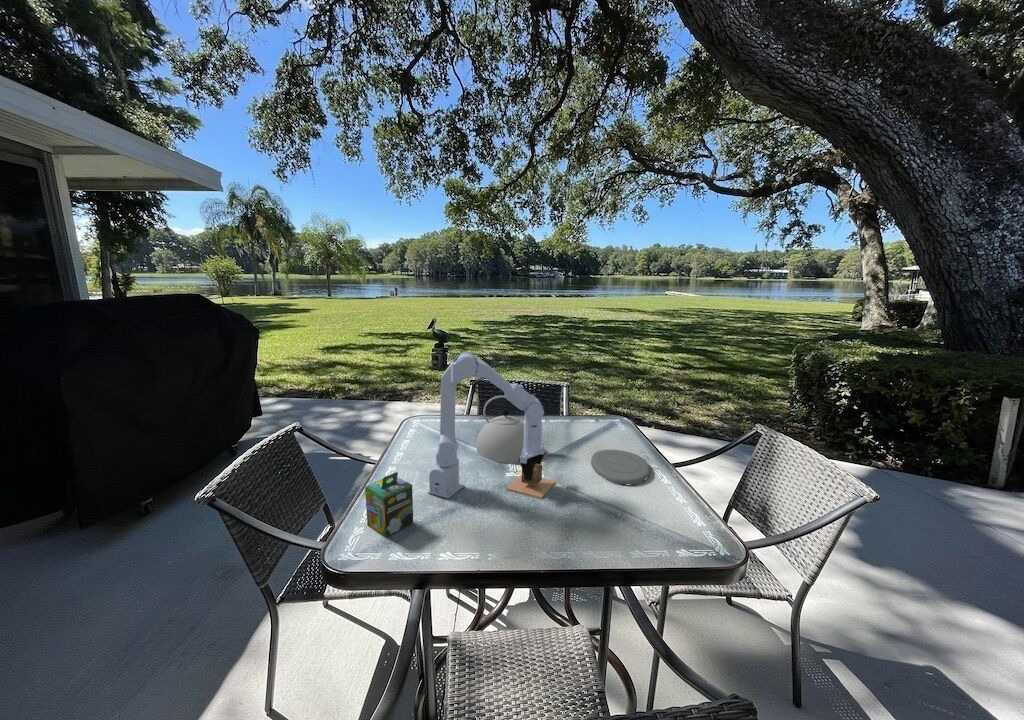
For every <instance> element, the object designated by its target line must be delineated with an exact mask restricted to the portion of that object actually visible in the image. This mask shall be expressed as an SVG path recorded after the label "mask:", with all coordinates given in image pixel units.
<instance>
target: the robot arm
mask: <svg viewBox="0 0 1024 720" xmlns="http://www.w3.org/2000/svg"><path fill="white" fill-rule="evenodd" d="M473 376H475V378H485V379H486V380H487V381H488V382H490V383H491V384H493V385H494V386H496V387H497V388H498V389H500V390H501V391H503V393H504V395H503V396H505V398H504V399H506V400H507V401H508V402H510V403H511V404H512V405H514V407H516V408H517V409H518V410H520V411H523V412H524V420H523V423H524V444H523V450H522V455H521V456H520V458H519V460H518V461H519V462H518V463H519V465H520V466H521V471H522V470H523V473H524V478H525V480H529V481H531V480H532V476H533V470H534V466H535V464H541V465H542V462H543V459H544V457H545V455H546V451H545V450H544V447H545V446H544V442H543V441H542V440H543V439H542V435H543V422H542V421H543V416H544V414H545V410H544V406H543V405H542V403H541V401H540V400H539V399H538V398H537V397H536V395H534V394H531V393H530V392H528V391H527V390H525V389H524V385H522V384H518V383H510V382H509V381H508V380H506V379H505V378H504V377H503V376H502V375H501V374H499V373H498V372H497V371H496V370H495V369H494V368H492V366H490V365H489V363H486V362H485V361H484V360H482V359H481V357H476V356H475V354H474V353H471V352H470V351H464V352H461V353H459V354H458V355H457V356H455V357H454V358H453V360H452V361H451V362H450V365H448V367H447V368H446V369H445V371H444V373H443V374H442V375H441V377H440V409H439V410H440V417H439V418H440V419H439V422H440V423H439V442H438V446H437V451H436V454H435V465H434V467H433V469H431V471H430V472H429V475H428V477H429V479H428V480H429V489H428V490H427V493H428V494H430V495H433V496H437V497H442V498H445V499H449V498H451V497H452V496H454V495H455V494H456V493H457V492H459V491H460V490H462V488H464V487H465V484H464V483H460V460H459V458H458V456H457V455H458V448H459V445H458V444H459V443H458V442H457V440H456V399H457V398H456V396H457V393H456V389H457V385H458V384H459V383H461V382H462V381H463V380H465V379H468V378H471V377H473Z"/></svg>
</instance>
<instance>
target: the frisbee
mask: <svg viewBox="0 0 1024 720" xmlns="http://www.w3.org/2000/svg"><path fill="white" fill-rule="evenodd" d="M590 463H591V464H590V465H591V467H592V469H593V468H594V469H593V470H594V471H595V472H596V473H597V475H599V476H600V477H601V476H602V477H603V478H602V477H601V478H602V479H604V478H605V479H606V480H605V479H604V480H605V481H607V480H608V481H607V482H609V481H610V482H609V483H611V482H613V483H612V484H615V483H617V484H616V485H619V484H636V483H640V482H642V481H644V480H645V479H646V478H647V477H648V476H650V471H651V469H650V465H649V463H648V462H647V461H646V459H644V458H643V457H641V456H640V455H638V454H635V453H633V452H630V451H626V450H620V449H601V450H599V451H598V450H597V451H595V452H594V453H593V454H592V456H591V459H590ZM648 478H649V477H648ZM644 482H645V481H644ZM642 483H643V482H642ZM640 484H641V483H640ZM636 485H637V484H636Z"/></svg>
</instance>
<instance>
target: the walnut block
mask: <svg viewBox="0 0 1024 720" xmlns="http://www.w3.org/2000/svg"><path fill="white" fill-rule="evenodd" d="M521 475H522V482H523V483H527V484H531V485H535V486H536V485H537V484H538V483H539V482H540V481H541V480H542V478H543V464H542V463H541V464H535V466H534V470H533V476H532V480H531V481H529V480H525V478H524V473H523V470H522V469H521Z"/></svg>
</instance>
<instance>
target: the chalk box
mask: <svg viewBox="0 0 1024 720" xmlns="http://www.w3.org/2000/svg"><path fill="white" fill-rule="evenodd" d="M398 474H399V473H398V471H396V472H393V473H391V474H388V475H386V476H384V477H383V478H382V479H380V480H377V481H375V482H372V483H371V484H369V485H366V486H365V488H364V491H365V492H364V493H365V494H364V495H365V508H366V511H365V512H366V524H367V525H366V526H369V527H370V528H371V529H373V530H374V531H375V532H378V534H380V535H382V536H384V537H385V538H387V537H389V536H392V535H393V534H395V533H397V532H399V531H401V530H403V529H405V528H407V527H409V526H412V525H413V524H414V505H413V504H414V503H413V502H414V500H413V484H412V483H409V481H406V480H403V479H402V478H400V477H398Z"/></svg>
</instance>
